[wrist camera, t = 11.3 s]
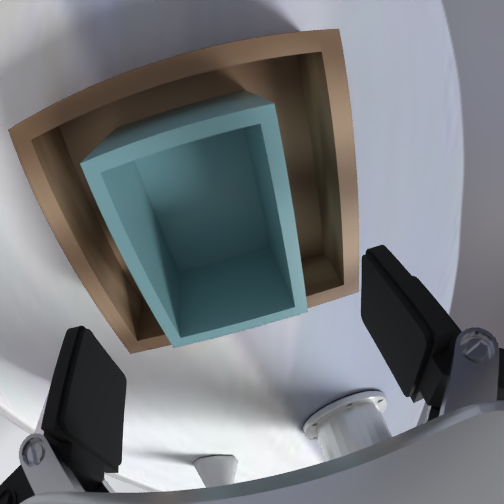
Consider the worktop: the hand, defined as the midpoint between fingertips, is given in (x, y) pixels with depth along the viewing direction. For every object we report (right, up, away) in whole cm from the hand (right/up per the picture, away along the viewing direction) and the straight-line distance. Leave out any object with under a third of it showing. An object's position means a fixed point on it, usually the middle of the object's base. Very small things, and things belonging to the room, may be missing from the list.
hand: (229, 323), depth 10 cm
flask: (-5, -31, +33) cm, 45 cm away
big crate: (-2, +6, +8) cm, 11 cm away
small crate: (-2, +6, +7) cm, 10 cm away
